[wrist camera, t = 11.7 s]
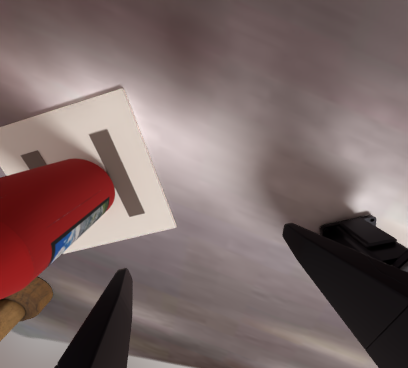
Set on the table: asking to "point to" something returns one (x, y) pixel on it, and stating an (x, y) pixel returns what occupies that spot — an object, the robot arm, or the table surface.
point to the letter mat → (100, 155)
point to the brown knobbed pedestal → (23, 304)
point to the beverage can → (47, 216)
